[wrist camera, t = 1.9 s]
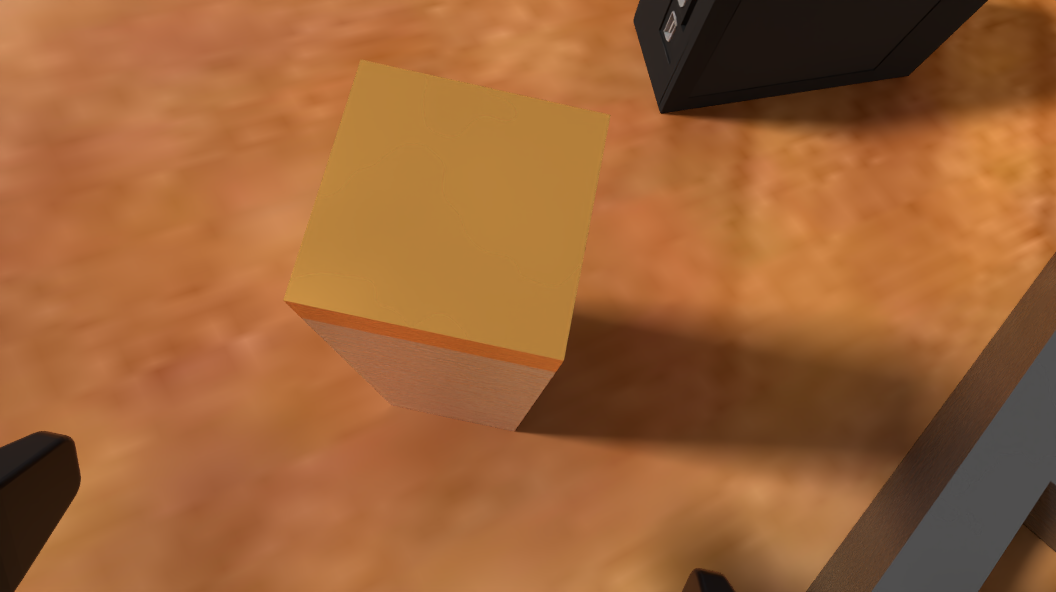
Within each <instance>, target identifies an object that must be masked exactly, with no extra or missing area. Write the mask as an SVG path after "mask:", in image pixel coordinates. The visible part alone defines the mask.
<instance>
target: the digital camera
mask: <svg viewBox="0 0 1056 592" xmlns="http://www.w3.org/2000/svg"><path fill="white" fill-rule="evenodd" d="M987 1H988V0H640V1H639V4H638V7H637V10H636V13H635V17H634V25H635V29H636V32H637V35H638V39H639V42H640V46H641V49H642V53H643V56H644V59H645V63H646V66H647V70H648V73H649V77H650V80H651V83H652V87H653V90H654V94H655V97H656V101H657V104H658V107H659V111H660V113H667V112H674V111H680V110H687V109H693V108H700V107H706V106H713V105H720V104H726V103H733V102H739V101H746V100H752V99H759V98H766V97H772V96H779V95H785V94H792V93H798V92H805V91H811V90H818V89H825V88H831V87H838V86H844V85H851V84H857V83H864V82H870V81H877V80H884V79H890V78H897V77H903V76H909V75H910V74H911V73H912V72H913V71H914V70H915V69H916V68H917V67H918V66H919V65H920V64H921V63H922V62H923V61H924V60H925V59H927V58H928V57H929V56H930V55H931V54H932V53H933V52H934V51H935V50H936V49H937V48H938V47H939V46H940V45H941V44H942V43H943V42H944V41H945V40H947V39H948V38H949V37H950V36H951V35H952V34H953V33H954V32H955V31H956V30H957V29H958V28H959V27H960V26H961V25H962V24H963V23H964V22H966V21H967V20H968V19H969V18H970V17H971V16H972V15H973V14H974V13H975V12H976V11H977V10H978V9H979V8H980V7H981V6H982V5H983V4H985V3H986V2H987ZM679 60H680V61H679ZM678 62H679V63H678ZM676 67H677V68H676ZM675 69H676V70H675ZM674 71H675V72H674ZM673 73H674V74H673ZM672 75H673V76H672ZM671 77H672V78H671ZM670 79H671V81H670ZM669 82H670V83H669ZM668 84H669V85H668ZM667 86H668V87H667ZM666 88H667V89H666ZM665 90H666V91H665ZM664 92H665V94H664ZM663 94H664V96H663ZM662 96H663V98H662ZM661 99H662V100H661ZM660 101H661V102H660Z"/></svg>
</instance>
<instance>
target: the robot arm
mask: <svg viewBox="0 0 1056 592" xmlns="http://www.w3.org/2000/svg"><path fill="white" fill-rule="evenodd" d="M80 481H81V475H80V469H79V464H78V458H77V452H76V447H75V443H74V441H73V439H72V438H71V437H69V436H67V435H62V434H57V433H52V432H47V431H40V432H36V433H33V434H31V435H28V436H26V437H24V438H21V439H19V440H17V441H14V442H12V443H10V444H7V445H5V446H3V447H0V592H14V591H15V590H16V588H17V587H18V585H19V584H20V582H21V581H22V579H23V578H24V576H25V575H26V573H27V572H28V570H29V568H30V567H31V565H32V564H33V562H34V561H35V559H36V557H37V556H38V554H39V553H40V551H41V549H42V548H43V546H44V545H45V543H46V542H47V540H48V538H49V537H50V535H51V534H52V532H53V531H54V529H55V527H56V526H57V524H58V523H59V521H60V520H61V518H62V516H63V515H64V513H65V512H66V510H67V508H68V507H69V505H70V504H71V502H72V501H73V499H74V497H75V496H76V494H77V492H78V489H79V486H80ZM682 592H735V590H734V589H733V587H732V586H731V584H730V583H729V581H728V580H727V578H726V577H725V576H724V575H723V574H721V573H719V572H715V571H710V570H705V569H701V568H696V569H694V570H693V571H692V572H691V574H690V576H689V578H688V580H687V582H686V584H685V586H684V588H683V590H682Z"/></svg>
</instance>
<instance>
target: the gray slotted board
mask: <svg viewBox="0 0 1056 592" xmlns="http://www.w3.org/2000/svg"><path fill="white" fill-rule="evenodd" d="M1022 524H1024V525H1026V526H1027V527H1028V528H1029V529H1030V530H1031V531H1032V532H1034V533H1035V534H1036V535H1037V536H1038V537H1039V538H1040V539H1042V540H1043V541H1044V542H1045V543H1046V544H1047V545H1048V546H1049V547H1051V548H1052V549H1053V550H1054V551H1055V552H1056V253H1055V254H1054V255H1053V257H1052V258H1051V259H1050V261H1049V262H1048V263H1047V265H1046V266H1045V267H1044V269H1043V270H1042V272H1041V273H1040V274H1039V276H1038V277H1037V278H1036V280H1035V281H1034V282H1033V284H1032V285H1031V287H1030V288H1029V289H1028V291H1027V292H1026V293H1025V295H1024V296H1023V297H1022V299H1021V300H1020V301H1019V303H1018V304H1017V306H1016V307H1015V308H1014V310H1013V311H1012V312H1011V314H1010V315H1009V316H1008V318H1007V319H1006V321H1005V322H1004V323H1003V325H1002V326H1001V327H1000V329H999V330H998V331H997V333H996V334H995V335H994V337H993V338H992V340H991V341H990V342H989V344H988V345H987V346H986V348H985V349H984V350H983V352H982V353H981V355H980V356H979V357H978V359H977V360H976V361H975V363H974V364H973V365H972V367H971V368H970V370H969V371H968V372H967V374H966V375H965V376H964V378H963V379H962V380H961V382H960V383H959V384H958V386H957V387H956V389H955V390H954V391H953V393H952V394H951V395H950V397H949V398H948V399H947V401H946V402H945V404H944V405H943V406H942V408H941V409H940V410H939V412H938V413H937V414H936V416H935V417H934V418H933V420H932V421H931V423H930V424H929V425H928V427H927V428H926V429H925V431H924V432H923V433H922V435H921V436H920V438H919V439H918V440H917V442H916V443H915V444H914V446H913V447H912V448H911V450H910V451H909V452H908V454H907V455H906V457H905V458H904V459H903V461H902V462H901V463H900V465H899V466H898V467H897V469H896V470H895V472H894V473H893V474H892V476H891V477H890V478H889V480H888V481H887V482H886V484H885V485H884V487H883V488H882V489H881V491H880V492H879V493H878V495H877V496H876V497H875V499H874V500H873V501H872V503H871V504H870V506H869V507H868V508H867V510H866V511H865V512H864V514H863V515H862V516H861V518H860V519H859V521H858V522H857V523H856V525H855V526H854V527H853V529H852V530H851V531H850V533H849V534H848V535H847V537H846V538H845V540H844V541H843V542H842V544H841V545H840V546H839V548H838V549H837V550H836V552H835V553H834V555H833V556H832V557H831V559H830V560H829V561H828V563H827V564H826V565H825V567H824V568H823V569H822V571H821V572H820V574H819V575H818V576H817V578H816V579H815V580H814V582H813V583H812V584H811V586H810V587H809V589H808V590H807V591H806V592H978V591H979V589H980V588H981V586H982V585H983V583H984V582H985V580H986V579H987V577H988V576H989V574H990V573H991V571H992V570H993V568H994V566H995V565H996V563H997V562H998V560H999V559H1000V557H1001V556H1002V554H1003V553H1004V551H1005V550H1006V548H1007V547H1008V545H1009V544H1010V542H1011V541H1012V539H1013V537H1014V536H1015V534H1016V533H1017V531H1018V530H1019V528H1020V527H1021V525H1022Z"/></svg>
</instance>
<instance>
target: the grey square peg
mask: <svg viewBox="0 0 1056 592" xmlns="http://www.w3.org/2000/svg"><path fill="white" fill-rule="evenodd" d="M609 120H610V115H609V114H604V113H600V112H595V111H591V110H586V109H582V108H577V107H573V106H568V105H564V104H559V103H555V102H550V101H546V100H541V99H537V98H532V97H528V96H523V95H519V94H514V93H510V92H505V91H501V90H496V89H492V88H487V87H483V86H478V85H474V84H469V83H465V82H460V81H456V80H451V79H447V78H442V77H438V76H433V75H428V74H424V73H419V72H415V71H410V70H406V69H401V68H397V67H392V66H388V65H383V64H379V63H374V62H370V61H365V60H360V63H359V66H358V69H357V73H356V76H355V79H354V82H353V85H352V88H351V91H350V94H349V97H348V101H347V104H346V107H345V110H344V113H343V116H342V119H341V122H340V125H339V129H338V132H337V135H336V138H335V141H334V144H333V147H332V150H331V153H330V157H329V160H328V163H327V166H326V169H325V172H324V175H323V178H322V181H321V185H320V188H319V191H318V194H317V197H316V200H315V203H314V206H313V210H312V213H311V216H310V219H309V222H308V225H307V228H306V231H305V234H304V238H303V241H302V244H301V247H300V250H299V253H298V256H297V259H296V262H295V266H294V269H293V272H292V275H291V278H290V281H289V284H288V287H287V290H286V294H285V297H284V301H285V302H286V303H287V304H288V305H289V306H290V307H291V308H292V309H293V310H294V311H295V312H296V313H297V314H298V315H299V316H300V317H301V318H302V319H303V320H304V321H305V322H306V323H307V324H308V325H309V326H310V327H311V328H312V329H313V330H314V331H315V332H316V333H318V334H319V335H320V336H321V337H322V338H323V339H324V340H325V341H326V342H327V343H328V344H329V345H330V346H331V347H332V348H333V349H334V350H335V351H336V352H337V353H338V354H339V355H340V356H341V357H342V358H343V359H344V360H345V361H346V362H347V363H348V364H349V365H350V366H351V367H353V368H354V369H355V370H356V371H357V372H358V373H359V374H360V375H361V376H362V377H363V378H364V379H365V380H366V381H367V382H368V383H369V384H370V385H371V386H372V387H373V388H374V389H375V390H376V391H377V392H378V393H379V394H380V395H381V396H382V397H383V398H384V399H385V400H386V401H388V402H389V403H390V404H391V405H393V406H397V407H402V408H407V409H411V410H416V411H421V412H425V413H430V414H435V415H440V416H444V417H449V418H454V419H458V420H463V421H468V422H472V423H477V424H482V425H486V426H491V427H496V428H500V429H505V430H510V431H515V430H516V428H517V427H518V425H519V424H520V422H521V421H522V420H523V418H524V417H525V415H526V414H527V412H528V411H529V410H530V408H531V407H532V405H533V404H534V402H535V401H536V400H537V398H538V397H539V395H540V394H541V392H542V391H543V390H544V388H545V387H546V385H547V384H548V382H549V381H550V380H551V378H552V377H553V375H554V374H555V373H556V371H557V370H558V368H559V367H560V365H561V364H562V363H563V361H564V357H565V352H566V346H567V341H568V336H569V331H570V325H571V320H572V315H573V310H574V304H575V299H576V294H577V288H578V283H579V278H580V273H581V267H582V262H583V257H584V252H585V246H586V241H587V236H588V231H589V225H590V220H591V215H592V210H593V204H594V199H595V194H596V189H597V183H598V178H599V173H600V167H601V162H602V157H603V152H604V146H605V141H606V136H607V131H608V125H609Z"/></svg>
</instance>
